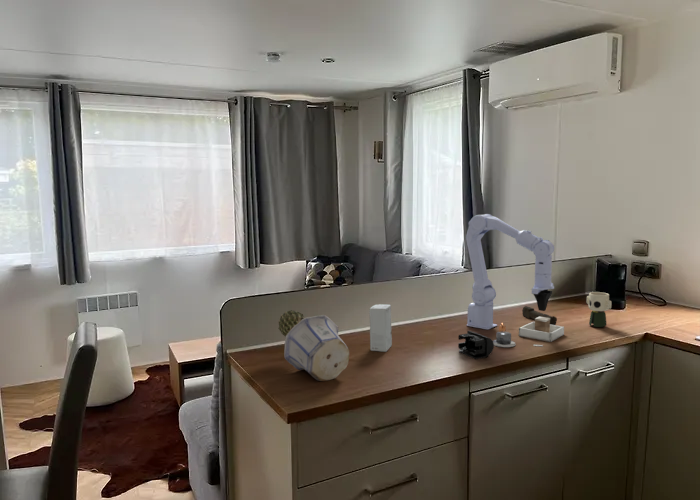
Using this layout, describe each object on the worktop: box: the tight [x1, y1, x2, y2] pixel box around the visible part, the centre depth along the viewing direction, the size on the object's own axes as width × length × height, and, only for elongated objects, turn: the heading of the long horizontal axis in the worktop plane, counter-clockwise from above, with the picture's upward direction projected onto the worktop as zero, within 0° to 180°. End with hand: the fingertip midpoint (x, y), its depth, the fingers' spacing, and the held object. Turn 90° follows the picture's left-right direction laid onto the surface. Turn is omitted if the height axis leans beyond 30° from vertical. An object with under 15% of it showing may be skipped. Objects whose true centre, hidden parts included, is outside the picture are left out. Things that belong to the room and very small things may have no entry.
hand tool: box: [521, 305, 558, 326], centre depth 218 cm, size 19×4×5 cm, turn 17°
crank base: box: [492, 339, 544, 349], centre depth 186 cm, size 17×8×1 cm, turn 78°
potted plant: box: [277, 309, 350, 382], centre depth 164 cm, size 18×18×30 cm
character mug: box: [586, 291, 612, 328], centre depth 207 cm, size 11×7×13 cm, turn 26°
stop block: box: [534, 316, 550, 333], centre depth 196 cm, size 4×4×6 cm
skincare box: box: [369, 303, 393, 353], centre depth 183 cm, size 8×6×15 cm
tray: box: [518, 321, 565, 342], centre depth 197 cm, size 12×12×3 cm
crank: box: [495, 321, 512, 344], centre depth 190 cm, size 13×5×5 cm, turn 168°
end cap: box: [457, 330, 495, 360], centre depth 176 cm, size 10×7×7 cm
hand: (542, 310), depth 196 cm, fingers closed
